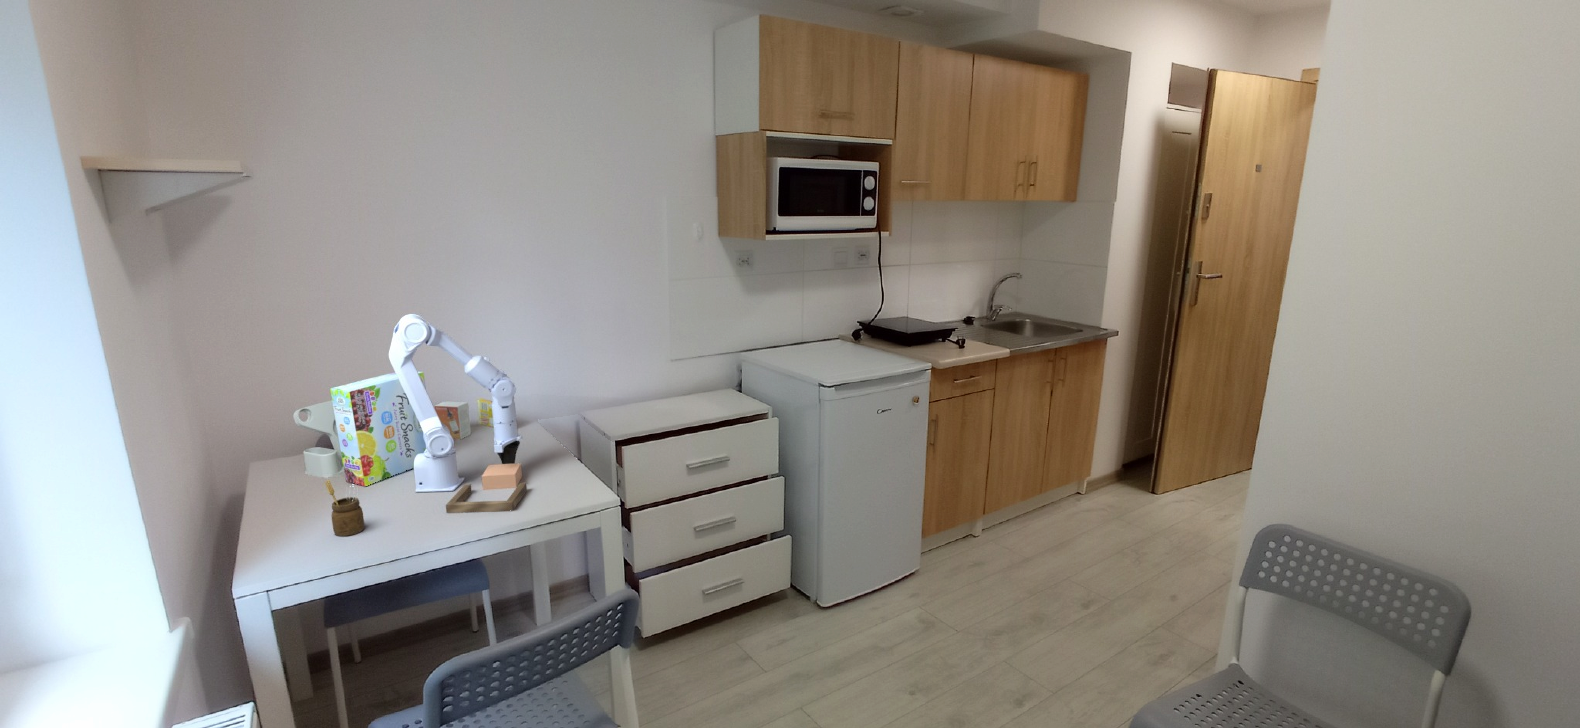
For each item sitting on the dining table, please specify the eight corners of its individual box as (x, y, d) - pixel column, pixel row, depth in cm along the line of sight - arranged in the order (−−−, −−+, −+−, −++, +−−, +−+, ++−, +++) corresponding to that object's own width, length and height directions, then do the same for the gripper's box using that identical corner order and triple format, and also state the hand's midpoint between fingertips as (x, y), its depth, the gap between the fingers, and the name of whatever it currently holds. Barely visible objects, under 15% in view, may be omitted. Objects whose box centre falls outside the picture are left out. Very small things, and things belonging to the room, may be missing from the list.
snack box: (415, 456, 209) (405, 368, 204) (437, 460, 206) (427, 371, 200) (342, 482, 190) (328, 386, 184) (364, 488, 187) (351, 390, 181)
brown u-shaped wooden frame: (446, 513, 172) (445, 505, 171) (465, 492, 184) (464, 484, 183) (512, 511, 173) (511, 503, 172) (526, 490, 185) (526, 482, 184)
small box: (437, 438, 224) (433, 405, 222) (448, 433, 230) (444, 400, 228) (460, 440, 223) (457, 406, 221) (471, 434, 229) (468, 401, 226)
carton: (483, 491, 185) (481, 476, 184) (490, 479, 193) (488, 465, 192) (516, 489, 186) (515, 474, 186) (522, 477, 194) (520, 463, 193)
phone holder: (327, 479, 192) (317, 413, 188) (300, 474, 196) (290, 409, 192) (385, 458, 208) (377, 396, 204) (359, 453, 212) (351, 393, 208)
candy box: (516, 430, 233) (513, 405, 231) (510, 432, 231) (508, 406, 229) (484, 422, 241) (481, 397, 239) (478, 423, 239) (475, 399, 238)
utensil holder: (357, 536, 160) (349, 484, 157) (327, 537, 159) (318, 485, 157) (370, 524, 166) (363, 474, 163) (341, 525, 165) (333, 475, 162)
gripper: (512, 428, 185) (517, 479, 188) (527, 412, 199) (531, 459, 202) (483, 429, 185) (488, 479, 188) (501, 412, 199) (505, 460, 202)
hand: (509, 469), depth 195 cm, fingers closed
